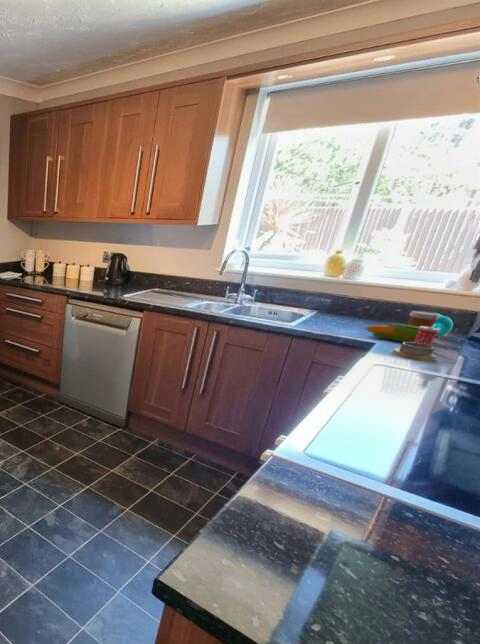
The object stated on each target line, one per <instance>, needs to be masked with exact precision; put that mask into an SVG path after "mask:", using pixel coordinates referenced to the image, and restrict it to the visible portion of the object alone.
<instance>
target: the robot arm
mask: <svg viewBox="0 0 480 644" xmlns="http://www.w3.org/2000/svg"><path fill="white" fill-rule="evenodd" d="M471 249H472V250H474V252H473V253H474V254H473V256H472V260H471V262H470V263H471V264H470V268H471V269H472V270H471V273H470V276H469V278H468V279H469V281H471V283H476V284H477V283H479V281H480V232H479V233H478V234H477V236H476V238H475V240H474V242H473V244H472V246H471Z"/></svg>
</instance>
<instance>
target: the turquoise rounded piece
mask: <svg viewBox="0 0 480 644" xmlns="http://www.w3.org/2000/svg"><path fill="white" fill-rule="evenodd" d="M435 313H436V314H439V318H438V320H436V322H435V323H434V325H433V327H434V328H438V329H440V331H439V332H438V333H437V335H436V336H435V338H438V337H442V336H445V335H447V334H449V333H450V331H451V330H452V329H453V326H454V323H453V320H452V319H451V318H450V317H449V316H445V315H442V314H440V313H437V312H435Z"/></svg>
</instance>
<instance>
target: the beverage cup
mask: <svg viewBox="0 0 480 644" xmlns="http://www.w3.org/2000/svg"><path fill="white" fill-rule="evenodd" d="M435 317H436V316H434V318H433V320H432V322H431V324H430V326H429V327H427V326H419V331H418V334H417V337H416V340H415V342H414V343H420V344H425V345H429V346H432V343H433V341H434V340H435V338H436V337H435V336H436V335H437V333H438V332H439V331H440V329H438V328H434V327H431V326H432V324H433V321H434V319H435Z"/></svg>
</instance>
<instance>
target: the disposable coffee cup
mask: <svg viewBox="0 0 480 644" xmlns="http://www.w3.org/2000/svg"><path fill="white" fill-rule="evenodd" d="M436 313H437V312H430V311H424V310H412V311H411V312H410V313H409V319H408V321H407V322H408V323H407V325H412V326H416V327H419V326H427V327H429V326H430V324H431V322H432V320H433V318H434V316H436V317H435V319H434V321H433V324H432V326H431V327H433V325H434V323H435V322H436V320H438V318H439V314H440V313H438V314H436ZM406 327H409V326H406ZM410 328H415V327H410ZM417 329H418V328H417Z"/></svg>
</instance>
